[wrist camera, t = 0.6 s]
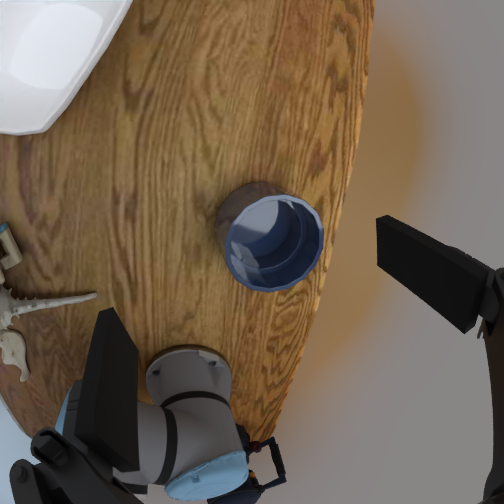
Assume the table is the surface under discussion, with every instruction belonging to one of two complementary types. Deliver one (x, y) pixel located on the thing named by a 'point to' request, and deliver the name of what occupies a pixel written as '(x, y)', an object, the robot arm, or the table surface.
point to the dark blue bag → (252, 473)
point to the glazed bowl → (268, 236)
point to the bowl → (49, 56)
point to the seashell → (30, 305)
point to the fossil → (14, 351)
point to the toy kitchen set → (8, 250)
